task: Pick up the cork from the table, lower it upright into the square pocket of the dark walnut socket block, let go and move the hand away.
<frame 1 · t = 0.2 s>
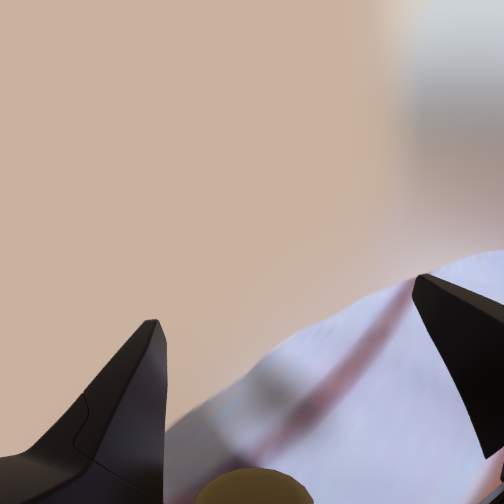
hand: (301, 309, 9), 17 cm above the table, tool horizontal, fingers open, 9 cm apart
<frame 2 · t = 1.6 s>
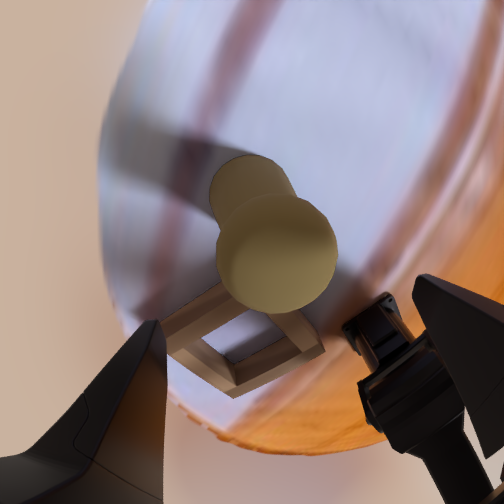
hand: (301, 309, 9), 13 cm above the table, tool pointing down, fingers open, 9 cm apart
cork: (250, 194, 20), on the table
socket block: (241, 329, 26), on the table
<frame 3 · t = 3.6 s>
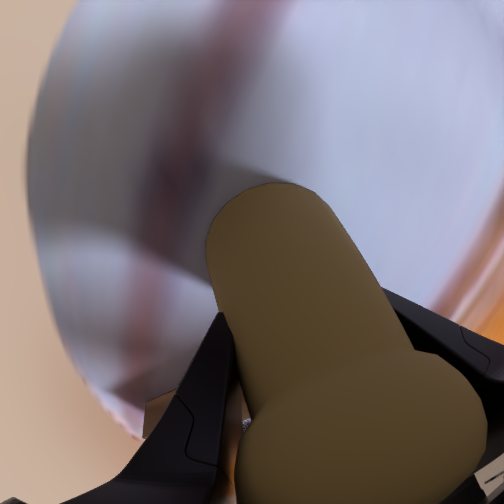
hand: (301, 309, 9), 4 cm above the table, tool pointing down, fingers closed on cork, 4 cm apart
cork: (274, 248, 12), on the table, touching gripper
socket block: (253, 408, 18), on the table
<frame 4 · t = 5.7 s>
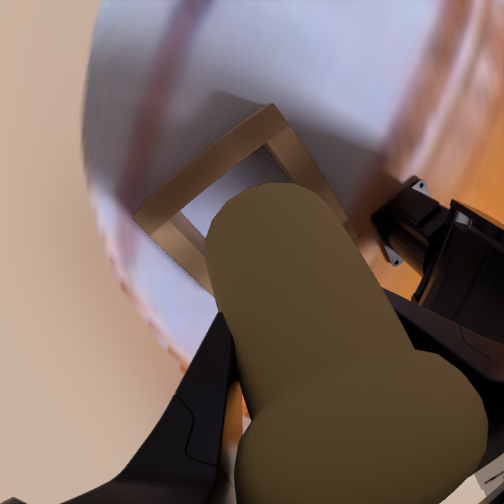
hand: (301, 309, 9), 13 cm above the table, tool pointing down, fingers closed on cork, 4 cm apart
cork: (274, 248, 12), point 9 cm above the table, touching gripper
socket block: (247, 210, 20), on the table
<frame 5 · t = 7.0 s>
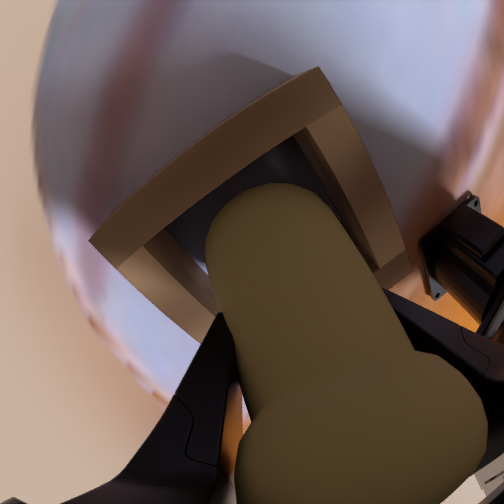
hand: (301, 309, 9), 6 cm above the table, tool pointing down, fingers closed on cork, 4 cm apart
cork: (273, 249, 12), point 2 cm above the table, touching gripper
socket block: (263, 229, 14), on the table
when the fingers open (5 cm above the table, at t = 8.1 s): cork stays where it is, resting in socket block.
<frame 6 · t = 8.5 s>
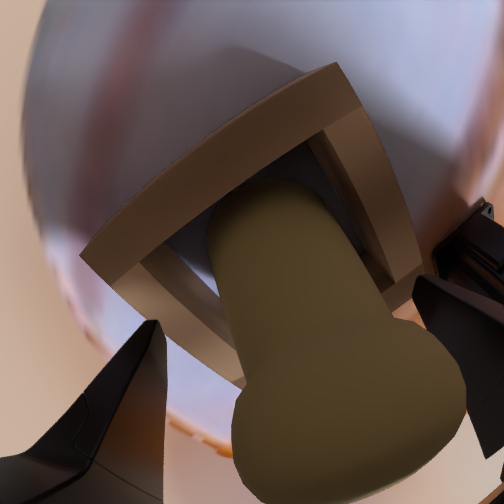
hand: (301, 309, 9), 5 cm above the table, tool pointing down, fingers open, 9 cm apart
cork: (271, 239, 13), resting in socket block
socket block: (270, 241, 13), on the table
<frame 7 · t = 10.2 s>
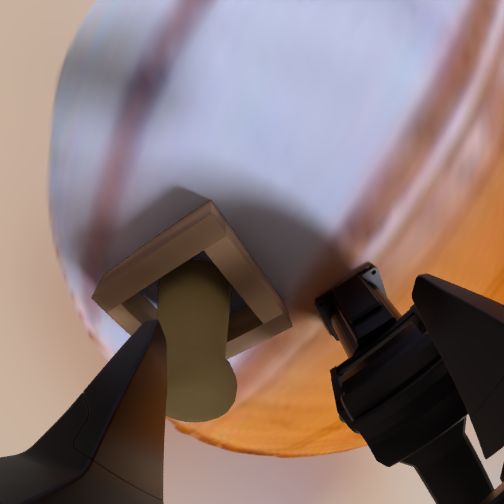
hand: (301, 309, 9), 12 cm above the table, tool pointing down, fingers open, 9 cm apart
cork: (194, 290, 22), resting in socket block
socket block: (193, 291, 22), on the table
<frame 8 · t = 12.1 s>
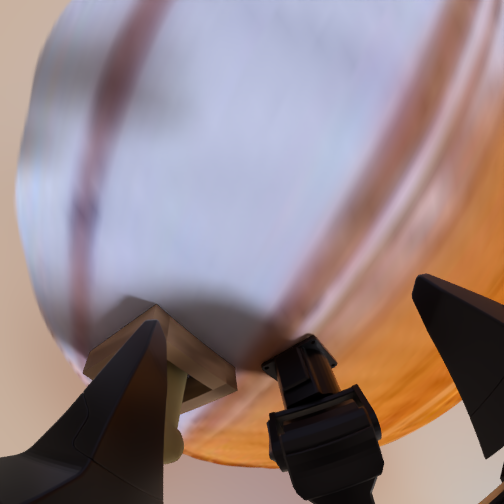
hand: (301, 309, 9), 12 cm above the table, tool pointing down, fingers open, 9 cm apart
cork: (160, 360, 26), resting in socket block
socket block: (159, 362, 25), on the table
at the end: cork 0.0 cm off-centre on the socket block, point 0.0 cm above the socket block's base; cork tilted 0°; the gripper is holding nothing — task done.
